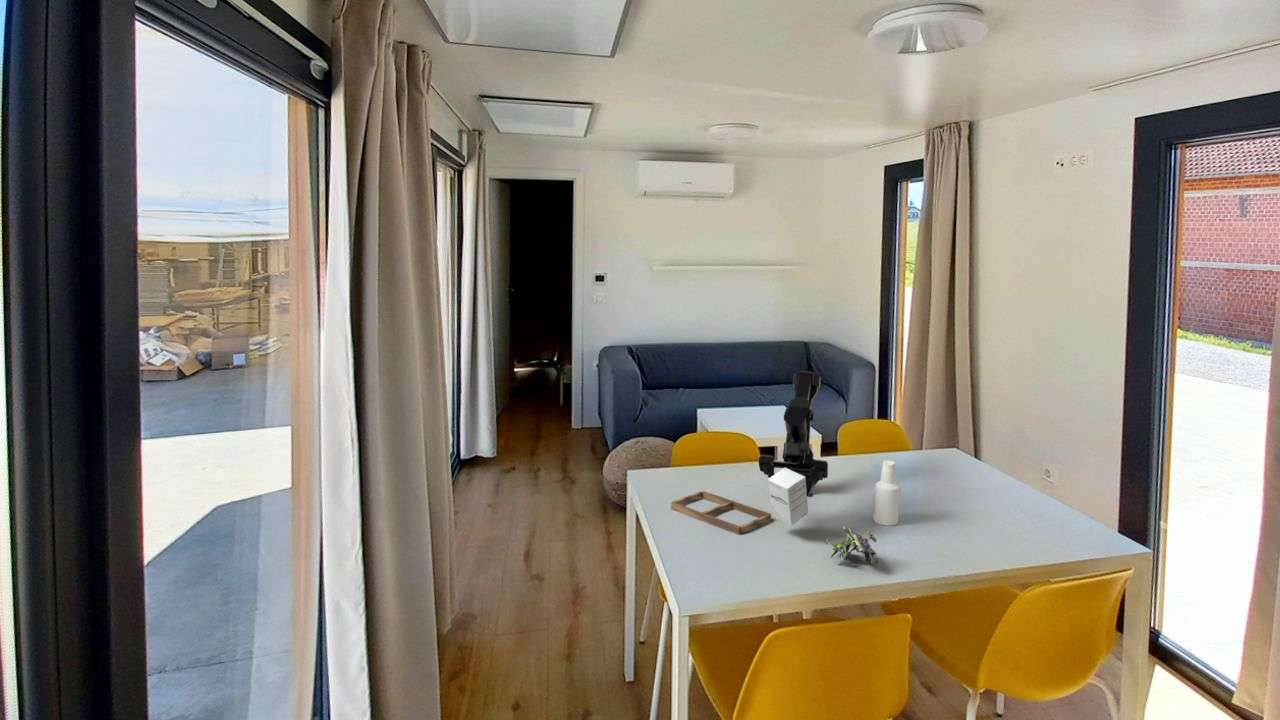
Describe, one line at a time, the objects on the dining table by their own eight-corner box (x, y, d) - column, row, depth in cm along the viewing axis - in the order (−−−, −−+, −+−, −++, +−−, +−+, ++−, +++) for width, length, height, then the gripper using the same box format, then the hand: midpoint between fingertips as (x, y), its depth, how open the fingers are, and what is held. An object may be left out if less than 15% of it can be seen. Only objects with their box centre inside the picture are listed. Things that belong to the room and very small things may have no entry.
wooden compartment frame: (702, 496, 219) (702, 490, 219) (772, 520, 200) (772, 514, 200) (669, 508, 209) (669, 502, 209) (740, 535, 190) (740, 528, 189)
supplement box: (771, 516, 191) (766, 478, 185) (789, 503, 194) (785, 466, 189) (791, 527, 185) (787, 488, 180) (809, 514, 188) (806, 476, 183)
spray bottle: (897, 518, 202) (901, 460, 199) (898, 527, 195) (902, 466, 193) (873, 515, 204) (876, 457, 201) (872, 524, 198) (876, 464, 195)
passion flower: (866, 584, 174) (891, 559, 166) (828, 581, 171) (851, 555, 163) (853, 545, 182) (875, 519, 174) (816, 541, 179) (838, 515, 171)
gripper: (760, 427, 192) (753, 477, 184) (829, 432, 186) (825, 485, 178) (763, 446, 201) (756, 495, 192) (829, 452, 195) (825, 502, 187)
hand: (790, 494), depth 187 cm, fingers closed on supplement box, 9 cm apart
